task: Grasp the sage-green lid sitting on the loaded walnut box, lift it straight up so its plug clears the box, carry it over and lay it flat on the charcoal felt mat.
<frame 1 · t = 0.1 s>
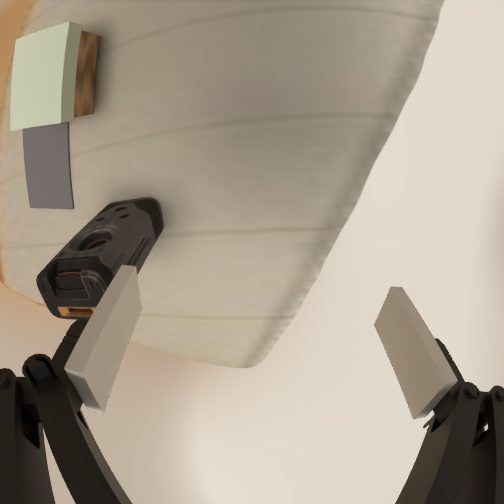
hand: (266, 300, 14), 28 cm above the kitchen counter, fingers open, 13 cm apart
crate: (75, 77, 31), on the kitchen counter
electronic device: (134, 217, 42), on the kitchen counter
lid: (48, 77, 24), point 7 cm above the kitchen counter, touching crate
mat: (46, 167, 37), on the kitchen counter
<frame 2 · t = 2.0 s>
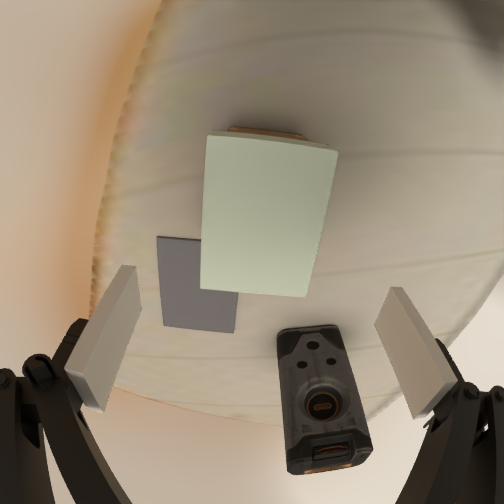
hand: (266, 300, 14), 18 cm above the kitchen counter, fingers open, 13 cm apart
crate: (259, 186, 30), on the kitchen counter
electronic device: (307, 339, 42), on the kitchen counter
lid: (261, 210, 24), point 7 cm above the kitchen counter, touching crate
mat: (198, 288, 37), on the kitchen counter
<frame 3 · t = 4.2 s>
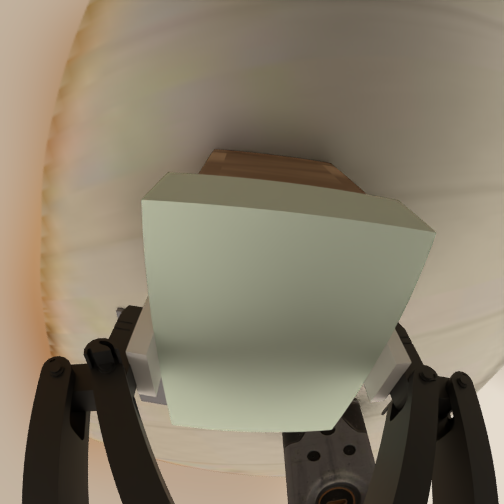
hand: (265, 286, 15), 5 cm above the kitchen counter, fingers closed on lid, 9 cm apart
crate: (261, 244, 20), on the kitchen counter
electronic device: (319, 412, 31), on the kitchen counter
lid: (268, 315, 13), point 7 cm above the kitchen counter, touching crate, gripper
mat: (179, 368, 26), on the kitchen counter
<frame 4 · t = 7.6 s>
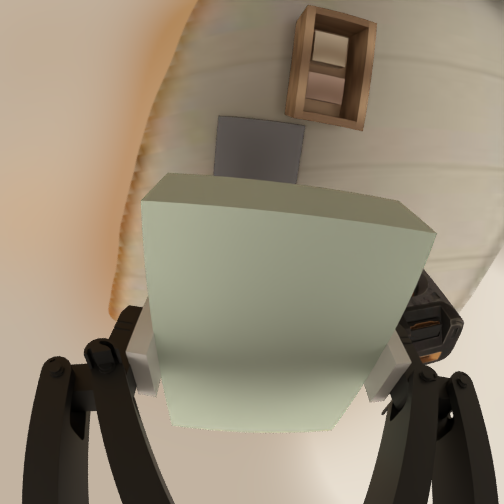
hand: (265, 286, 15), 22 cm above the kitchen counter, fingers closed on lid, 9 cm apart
crate: (320, 71, 29), on the kitchen counter
electronic device: (360, 245, 40), on the kitchen counter
lid: (268, 316, 13), point 25 cm above the kitchen counter, touching gripper
mat: (255, 176, 35), on the kitchen counter
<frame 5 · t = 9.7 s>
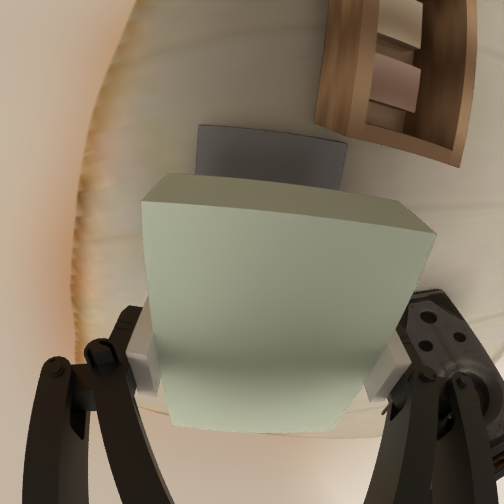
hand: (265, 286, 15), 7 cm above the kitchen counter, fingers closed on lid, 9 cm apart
crate: (372, 54, 15), on the kitchen counter
electronic device: (405, 313, 27), on the kitchen counter
lid: (268, 316, 13), point 10 cm above the kitchen counter, touching gripper
mat: (262, 226, 22), on the kitchen counter
when the fingers open (2 cm above the kitchen counter, at t = 11.5 s): lid drops 3 cm, resting on mat.
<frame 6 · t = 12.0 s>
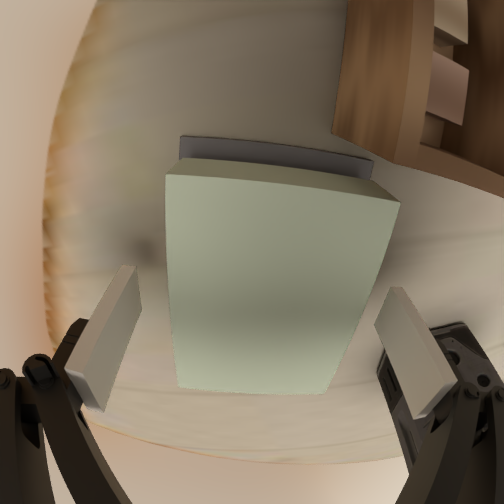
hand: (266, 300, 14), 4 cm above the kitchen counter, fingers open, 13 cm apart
crate: (404, 47, 11), on the kitchen counter
electronic device: (422, 348, 23), on the kitchen counter
lid: (264, 281, 16), point 2 cm above the kitchen counter, touching mat
mat: (263, 263, 17), on the kitchen counter
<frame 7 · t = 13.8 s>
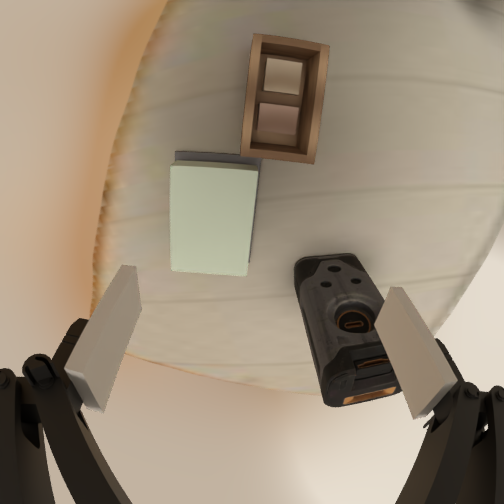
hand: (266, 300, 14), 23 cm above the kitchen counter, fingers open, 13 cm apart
crate: (276, 99, 30), on the kitchen counter
electronic device: (325, 272, 41), on the kitchen counter
lid: (212, 214, 34), point 2 cm above the kitchen counter, touching mat
mat: (214, 209, 36), on the kitchen counter
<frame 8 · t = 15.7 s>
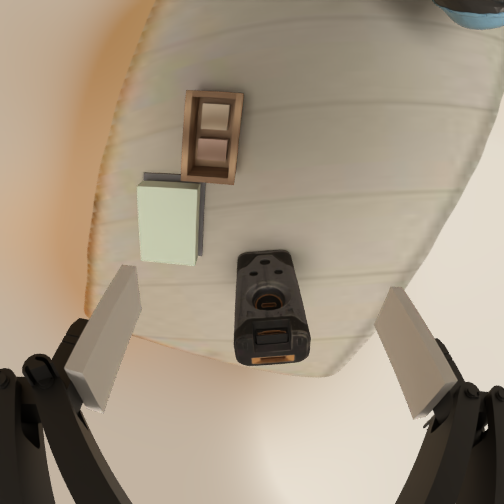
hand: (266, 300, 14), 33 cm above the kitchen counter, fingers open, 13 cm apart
crate: (215, 131, 41), on the kitchen counter
electronic device: (264, 264, 52), on the kitchen counter
lid: (171, 219, 45), point 2 cm above the kitchen counter, touching mat
mat: (173, 215, 47), on the kitchen counter
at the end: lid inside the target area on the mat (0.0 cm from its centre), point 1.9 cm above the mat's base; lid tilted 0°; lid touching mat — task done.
